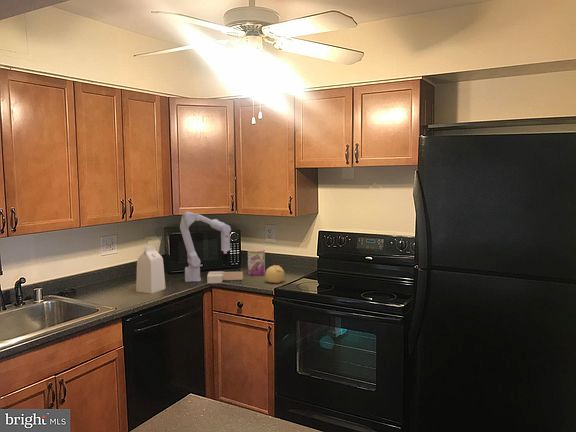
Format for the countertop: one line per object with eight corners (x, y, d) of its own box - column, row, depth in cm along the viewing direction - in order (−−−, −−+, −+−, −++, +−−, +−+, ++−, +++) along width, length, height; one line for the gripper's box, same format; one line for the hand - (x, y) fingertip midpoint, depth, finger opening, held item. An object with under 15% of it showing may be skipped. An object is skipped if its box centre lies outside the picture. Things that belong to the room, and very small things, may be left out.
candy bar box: (247, 275, 313) (247, 251, 311) (248, 273, 318) (248, 249, 316) (264, 275, 312) (263, 251, 310) (265, 273, 317) (264, 249, 315)
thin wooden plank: (220, 280, 297) (220, 272, 297) (220, 279, 298) (220, 272, 298) (242, 279, 298) (242, 271, 298) (242, 279, 299) (242, 271, 299)
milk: (150, 286, 283) (148, 244, 281) (165, 288, 278) (164, 245, 276) (136, 291, 272) (134, 247, 270) (151, 293, 267) (149, 248, 265)
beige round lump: (285, 283, 287) (285, 266, 286) (266, 284, 285) (265, 267, 284) (283, 279, 298) (283, 263, 297) (264, 280, 297) (264, 263, 296)
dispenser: (207, 283, 290) (207, 276, 290) (209, 278, 304) (208, 271, 303) (223, 283, 291) (222, 275, 290) (223, 278, 305) (223, 271, 304)
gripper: (231, 243, 300) (231, 264, 301) (232, 240, 314) (232, 260, 315) (220, 244, 299) (220, 264, 300) (221, 240, 314) (221, 260, 315)
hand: (226, 262), depth 308 cm, fingers open, 7 cm apart
